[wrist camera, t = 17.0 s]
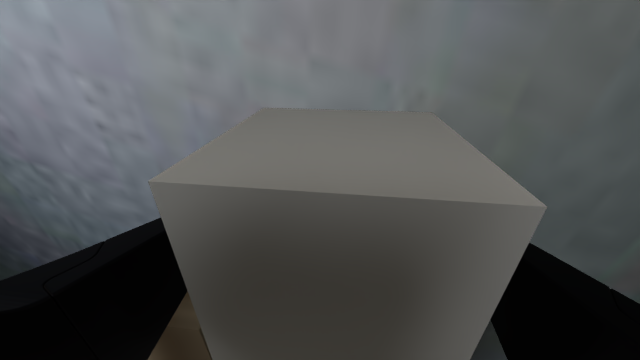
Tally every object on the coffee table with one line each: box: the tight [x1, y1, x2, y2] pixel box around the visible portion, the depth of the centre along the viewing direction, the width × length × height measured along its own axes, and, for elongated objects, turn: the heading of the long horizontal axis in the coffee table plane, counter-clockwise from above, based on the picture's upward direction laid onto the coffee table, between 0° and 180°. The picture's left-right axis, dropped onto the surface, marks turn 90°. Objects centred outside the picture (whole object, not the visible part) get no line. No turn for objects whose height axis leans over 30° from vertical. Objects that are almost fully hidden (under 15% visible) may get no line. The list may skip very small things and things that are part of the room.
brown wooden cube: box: [148, 291, 212, 360], centre depth 14 cm, size 4×4×4 cm
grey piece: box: [148, 108, 547, 360], centre depth 9 cm, size 7×7×6 cm
